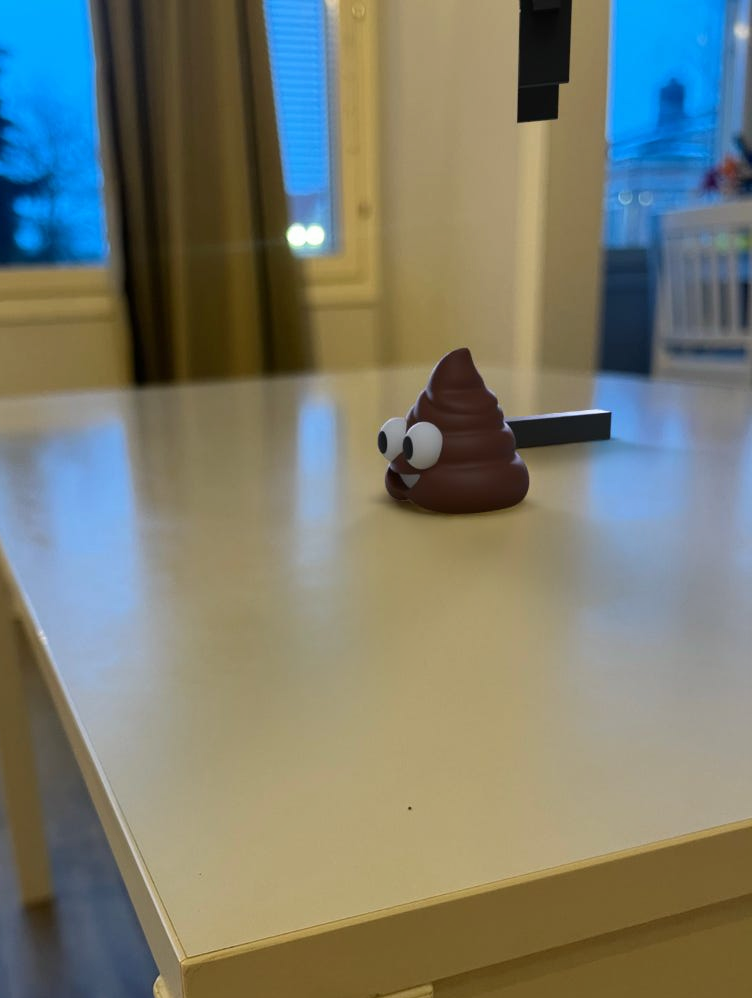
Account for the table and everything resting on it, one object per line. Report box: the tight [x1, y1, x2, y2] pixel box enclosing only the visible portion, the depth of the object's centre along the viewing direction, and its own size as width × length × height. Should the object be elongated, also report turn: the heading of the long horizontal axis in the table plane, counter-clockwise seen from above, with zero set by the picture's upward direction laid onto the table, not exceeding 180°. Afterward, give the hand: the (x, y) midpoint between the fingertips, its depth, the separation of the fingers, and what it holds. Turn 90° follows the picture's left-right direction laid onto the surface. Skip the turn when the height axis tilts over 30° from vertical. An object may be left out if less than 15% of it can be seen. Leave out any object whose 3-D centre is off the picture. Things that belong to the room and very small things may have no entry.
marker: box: [504, 409, 613, 449], centre depth 81 cm, size 13×2×2 cm, turn 102°
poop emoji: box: [377, 347, 530, 515], centre depth 61 cm, size 10×8×9 cm
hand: (540, 105), depth 61 cm, fingers open, 13 cm apart
